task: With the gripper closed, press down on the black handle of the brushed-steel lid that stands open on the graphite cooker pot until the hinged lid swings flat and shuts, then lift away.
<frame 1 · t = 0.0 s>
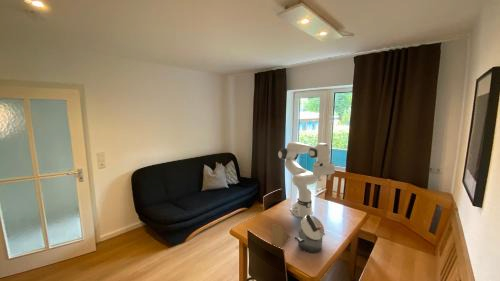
hand: (324, 180, 169), 39 cm above the table, tool pointing down, fingers open, 8 cm apart
sandwich container: (281, 240, 154), on the table
cooker pot: (309, 246, 146), on the table
lid: (313, 227, 142), point 15 cm above the table, hinge at 40.0°
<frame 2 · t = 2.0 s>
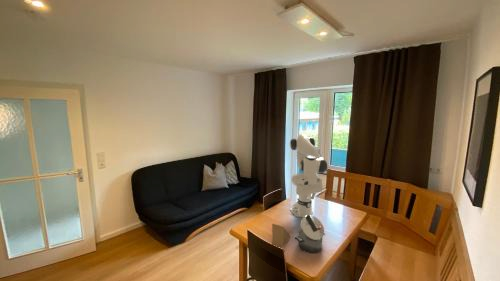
hand: (309, 199, 144), 33 cm above the table, tool pointing down, fingers open, 4 cm apart
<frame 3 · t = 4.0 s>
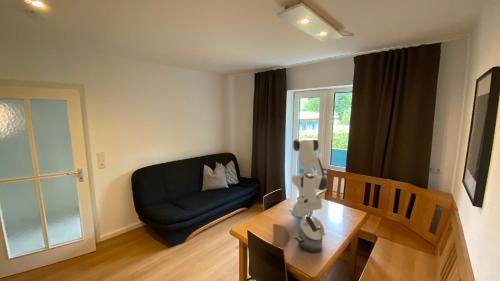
hand: (309, 216, 145), 21 cm above the table, tool pointing down, fingers closed, pressing on lid
lid: (312, 227, 142), point 15 cm above the table, hinge at 38.7°, touching gripper
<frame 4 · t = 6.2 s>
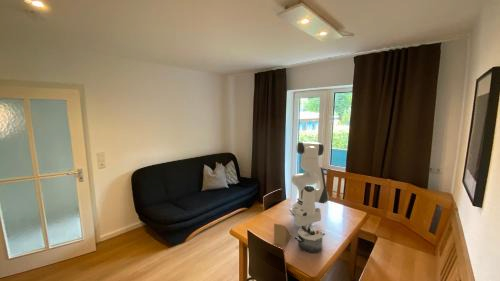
hand: (308, 229, 147), 12 cm above the table, tool pointing down, fingers closed, pressing on lid
lid: (310, 232, 145), point 10 cm above the table, hinge at -0.3°, touching gripper
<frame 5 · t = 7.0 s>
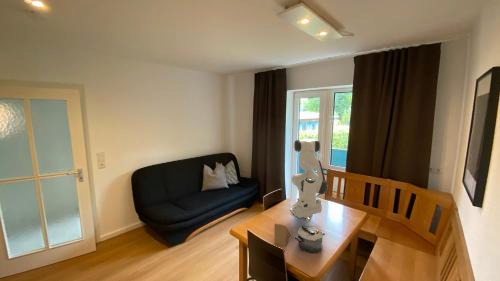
hand: (308, 220, 146), 18 cm above the table, tool pointing down, fingers closed
lid: (310, 232, 145), point 10 cm above the table, hinge at -0.3°
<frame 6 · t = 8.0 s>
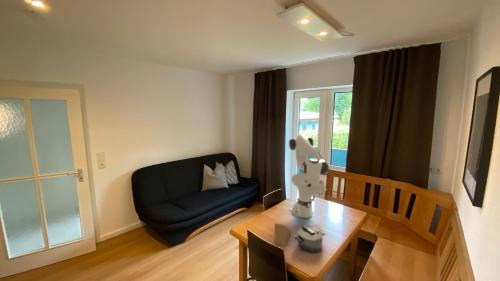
hand: (311, 200, 149), 30 cm above the table, tool pointing down, fingers closed
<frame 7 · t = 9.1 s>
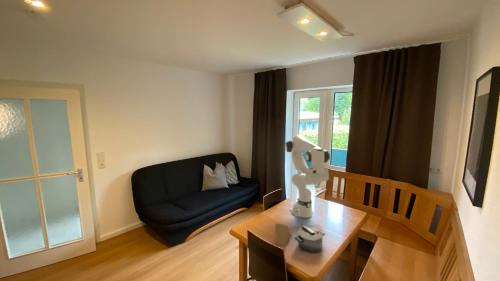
hand: (317, 187, 157), 37 cm above the table, tool pointing down, fingers closed
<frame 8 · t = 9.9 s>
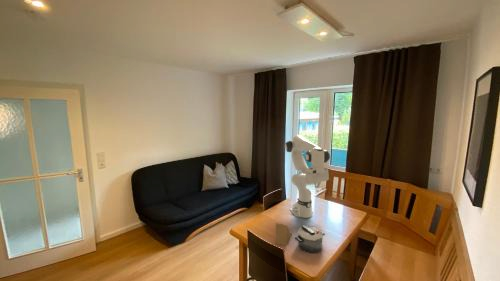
hand: (317, 187, 157), 37 cm above the table, tool pointing down, fingers closed
at the end: lid at +0° (first picture: +40°); sandwich container moved 3.2 cm from its start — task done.
